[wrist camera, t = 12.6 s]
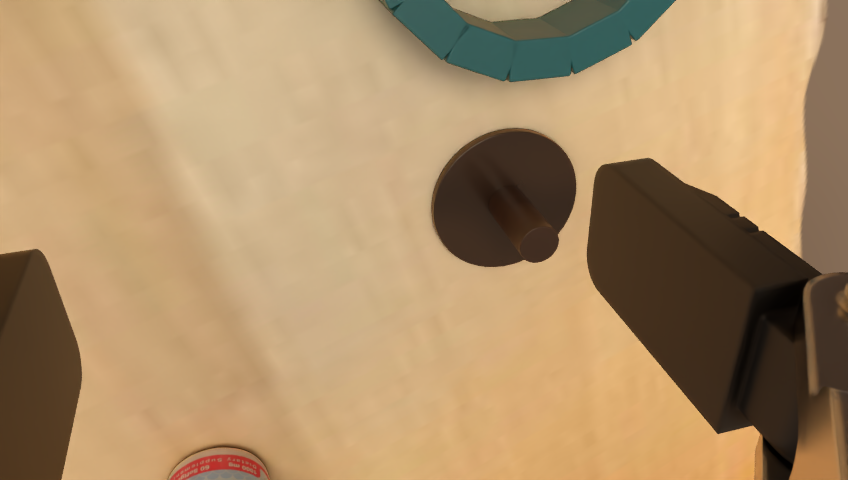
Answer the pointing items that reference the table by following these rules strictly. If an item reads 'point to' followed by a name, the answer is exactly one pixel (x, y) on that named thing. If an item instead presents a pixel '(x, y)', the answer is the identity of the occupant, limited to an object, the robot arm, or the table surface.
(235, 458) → the pill bottle
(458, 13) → the ring
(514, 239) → the peg stand
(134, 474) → the table surface
